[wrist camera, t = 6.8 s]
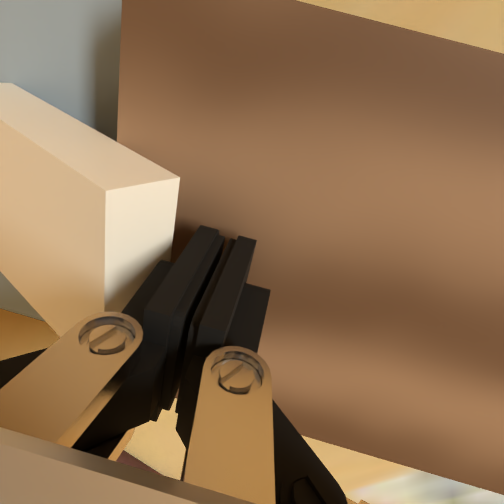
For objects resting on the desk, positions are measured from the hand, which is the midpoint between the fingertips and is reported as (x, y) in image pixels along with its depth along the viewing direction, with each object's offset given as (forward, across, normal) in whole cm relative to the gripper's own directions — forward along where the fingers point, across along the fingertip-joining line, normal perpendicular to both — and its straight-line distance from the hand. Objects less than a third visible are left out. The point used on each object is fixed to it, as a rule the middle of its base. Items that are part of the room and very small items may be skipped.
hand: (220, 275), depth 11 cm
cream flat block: (+2, +5, 0) cm, 6 cm away
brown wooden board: (+4, -6, 0) cm, 8 cm away
